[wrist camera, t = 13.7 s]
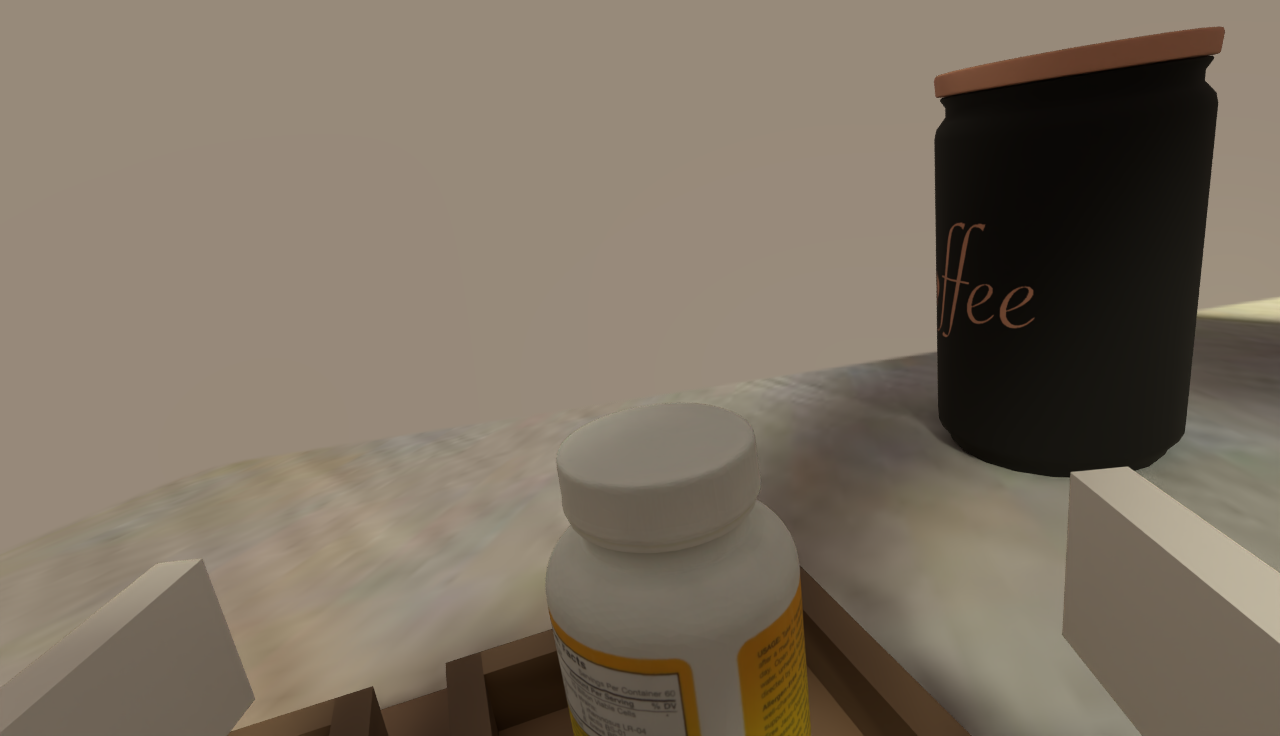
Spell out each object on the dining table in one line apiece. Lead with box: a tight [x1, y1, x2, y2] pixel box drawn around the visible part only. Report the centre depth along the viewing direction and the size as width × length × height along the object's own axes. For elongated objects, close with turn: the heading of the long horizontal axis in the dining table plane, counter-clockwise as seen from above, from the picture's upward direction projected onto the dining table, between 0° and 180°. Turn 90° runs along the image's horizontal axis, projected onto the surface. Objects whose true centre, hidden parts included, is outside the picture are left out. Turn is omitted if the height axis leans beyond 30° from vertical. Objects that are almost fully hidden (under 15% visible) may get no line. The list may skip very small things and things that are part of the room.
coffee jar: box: [934, 27, 1225, 477], centre depth 32 cm, size 11×11×18 cm
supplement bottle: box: [546, 403, 812, 736], centre depth 15 cm, size 5×5×10 cm
